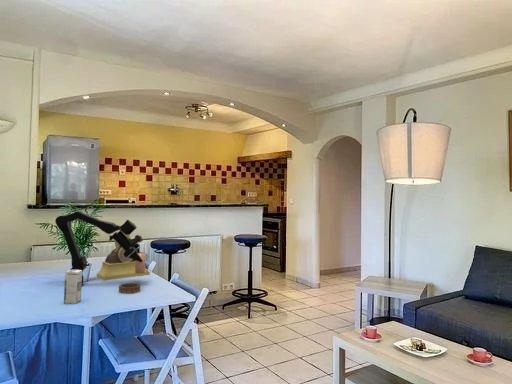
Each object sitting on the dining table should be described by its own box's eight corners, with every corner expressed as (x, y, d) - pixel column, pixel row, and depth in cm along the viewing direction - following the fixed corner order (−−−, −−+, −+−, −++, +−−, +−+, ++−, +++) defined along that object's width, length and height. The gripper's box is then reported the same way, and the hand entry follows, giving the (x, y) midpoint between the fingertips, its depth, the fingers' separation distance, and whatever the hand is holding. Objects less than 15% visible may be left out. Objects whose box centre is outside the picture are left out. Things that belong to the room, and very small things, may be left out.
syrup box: (68, 300, 179) (69, 269, 179) (81, 300, 180) (82, 269, 180) (63, 303, 174) (64, 271, 174) (76, 303, 174) (77, 271, 174)
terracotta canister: (138, 274, 209) (138, 253, 209) (133, 272, 212) (134, 252, 212) (146, 272, 212) (147, 253, 212) (141, 271, 216) (142, 252, 216)
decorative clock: (104, 280, 221) (105, 229, 221) (96, 276, 231) (98, 227, 231) (149, 275, 239) (150, 227, 240) (141, 271, 249) (142, 225, 249)
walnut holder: (125, 294, 191) (125, 288, 191) (115, 290, 198) (115, 285, 198) (144, 291, 199) (144, 285, 199) (133, 287, 206) (133, 282, 206)
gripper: (130, 232, 203) (151, 253, 204) (136, 229, 221) (155, 248, 222) (114, 247, 202) (135, 267, 203) (122, 242, 220) (141, 261, 221)
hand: (142, 260), depth 212 cm, fingers closed on terracotta canister, 5 cm apart
